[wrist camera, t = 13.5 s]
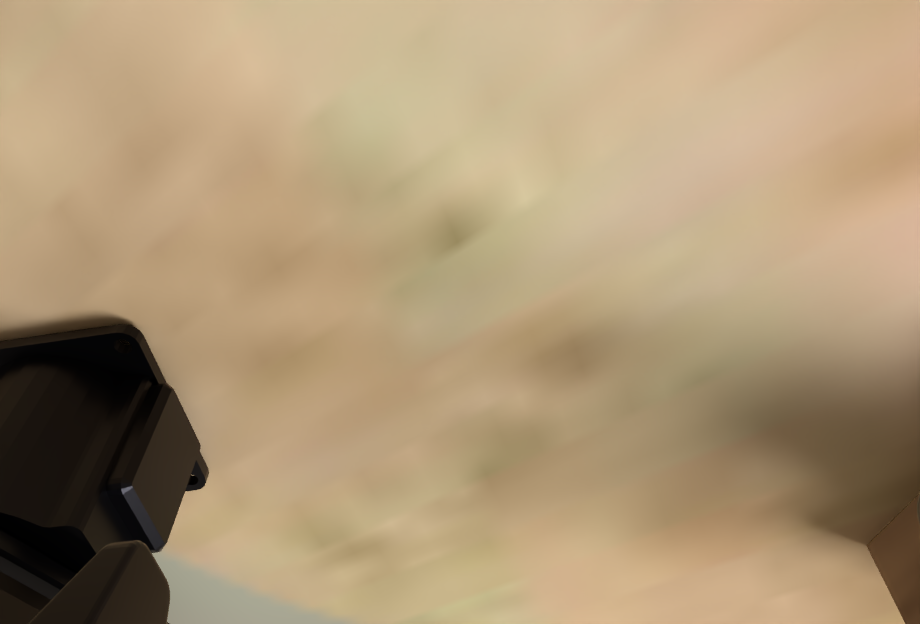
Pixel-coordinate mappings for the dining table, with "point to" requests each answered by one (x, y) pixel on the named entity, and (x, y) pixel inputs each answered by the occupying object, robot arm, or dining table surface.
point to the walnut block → (901, 561)
